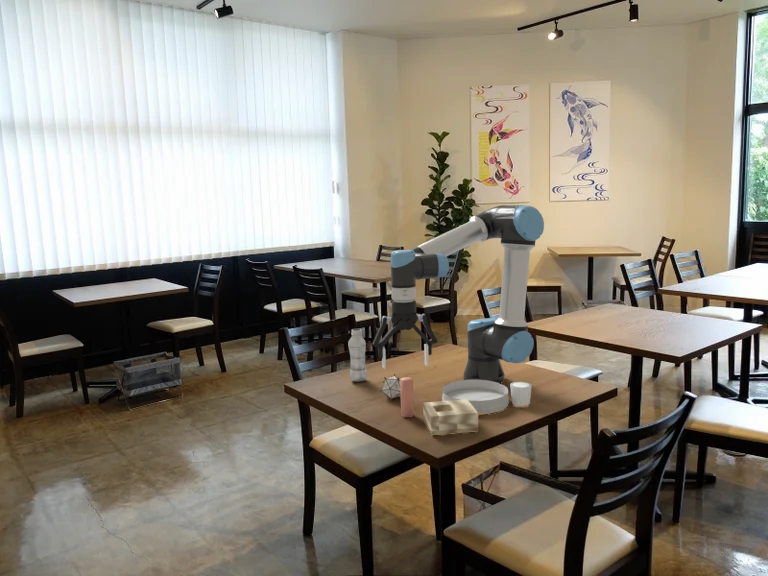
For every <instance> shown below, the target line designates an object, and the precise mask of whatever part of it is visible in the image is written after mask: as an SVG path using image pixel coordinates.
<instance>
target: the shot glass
mask: <svg viewBox="0 0 768 576" xmlns="http://www.w3.org/2000/svg"><path fill="white" fill-rule="evenodd" d="M532 386H533V385H532V383H530V382H527V381H513V382H511V383H510V384H509V387H510V394H511V397H510V398H511V405H512V404H514V405H518V406H524V405H528V404H531V398H532V397H531V395H532V388H533V387H532Z"/></svg>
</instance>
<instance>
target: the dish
mask: <svg viewBox="0 0 768 576" xmlns="http://www.w3.org/2000/svg"><path fill="white" fill-rule="evenodd" d="M463 399H467V400H468V401H469V402H470V403H471V405H472V406H473V407H474V408H475V410H476V411H477V412H478V413H491V412H495V411H499V410H502V409H504V408H505V407H507V406H508V404H509V405H510V399H509V388H508V387H507V386H506V385H504V384H503V383H501V384H500V383H497V382H493V381H487V380H464V379H461V380H457V381H452V382H449V383H447V384H446V385H444V386H443V387H442V395H441V401H450V400H463ZM508 407H509V406H508Z"/></svg>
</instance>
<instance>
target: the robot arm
mask: <svg viewBox="0 0 768 576" xmlns="http://www.w3.org/2000/svg"><path fill="white" fill-rule="evenodd" d="M468 220H469V221H468V222H466V223H464V224H462V225H459V226H458V227H455V228H453V229H450V230H449V231H446V232H444V233H442V234H440V235H438V236H436V237H433V238H431V239H430V240H427V241H426V242H424V243H421V244H420V245H417V246H415V247H413V248H410V249H397V250H393V251H392V252H391V254H390V265H389V266H390V280H391V281H390V284H391V289H390V290H391V299H392V301H391V316H386V315H382V316H381V323H380V325H379V328H378V329H377V333H376V334H375V336H374V339H373V340H372V346H373V347H374V348H378V357H379V359H381V364H382V369H383V370H387V367H386V366H387V365H386V364H387V361H386V359H387V358H386V348H385V345H386V344H387V343H388V342H389V340H390V339H391V338H392V337H393V335H394V334H395V333H396V332H397V331H398V330H399V331H405V330H406V331H410V330H411V329H413V330H414V331H415V332H416V334H418V335H419V336H420V337H421V339H422V340H424V342H425V343H424V344H423V347H424V349H423V350H424V351H423V353H424V365H425V366H426V367H429V365H430V364H429V362H430V358H429V356H432V355H433V353H432V352H433V351H432V349H433V348H432V347H433V344H437V343H438V340H437V337H436V335H435V334H434V331H433V330H432V328H431V326H430V325H429V322H428V318H427V315H426V314H425V313H421V314H419V315H418V314H417V301H416V299H417V293H416V292H417V290H416V289H417V288H416V284H417V283H416V282H417V281H418V280H424V279H425V280H426V279H438V278H441V277H445V276H446V275H447V274H448V272H449V270H450V266H449V265H450V262H449V259H448V256H450V255H452V254H454V253H457V252H458V251H461V250H463V249H465V248H467V247H469V246H471V245H473V244H475V243H477V242H480V243H482V242H483V243H484V242H485V241H488V240H491V239H500V245H501V246H502V247H503V249H504V251H503V252H504V253H503V266H502V275H501V276H502V277H501V291H500V300H499V301H500V303H499V312H498V313H499V314H498V317H496V318H493V317H488V318H478V319H474V320H473V319H472V320H470V321H469V322H468V323H467V332H466V333H467V363H466V365H465V367H464V372H463V380H487V381H493V382H497V383H501V382H503V381H504V379H505V375H506V374H505V371H504V369H503V366H502V363H501V361H504V362H507V363H511V364H520V363H522V362H524V361H526V360H527V358H529V357H530V355H531V354H532V352H533V349H534V343H535V342H534V337H533V336H532V334H531V333H530V332H528V330H529V324H528V323H527V321H526V320H525V311H526V299H527V291H528V289H527V287H528V279H529V278H528V276H529V266H530V256H531V255H530V254H531V250H532V249H533V248H534V247H536V240H538V239H540V238H541V236H542V234H543V233H544V230H545V220H544V217H543V215H542V213H540V211H539V209H538V208H536V207H535V206H532V205H524V204H519V205H518V204H517V205H515V204H514V205H513V204H512V205H511V204H509V205H504V204H503V205H496V206H494V207H491V208H489V209H487V210H484V211H482V212H480V213H477V214H476V215H473V216H471V218H469V219H468ZM416 280H417V281H416ZM418 320H419V321H420V322H422V324H423V327H424V329H426V332H427V333H428V336H429V337H430V339H429V338H428V336H426V335H425V334H424V332H423V331H421V329H420V328H419V326H417V325H416V323H417V322H418ZM390 322H391V323H392V326H391V327H390V329H388V331H387V332H386V334H385V335H384V336H383V333H384V332H385V329H386V327H387V325H388V324H389V323H390ZM382 336H383V338H382ZM381 338H382V339H381ZM505 380H506V379H505ZM504 382H505V381H504ZM504 382H503V383H504ZM501 384H502V383H501Z"/></svg>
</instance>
